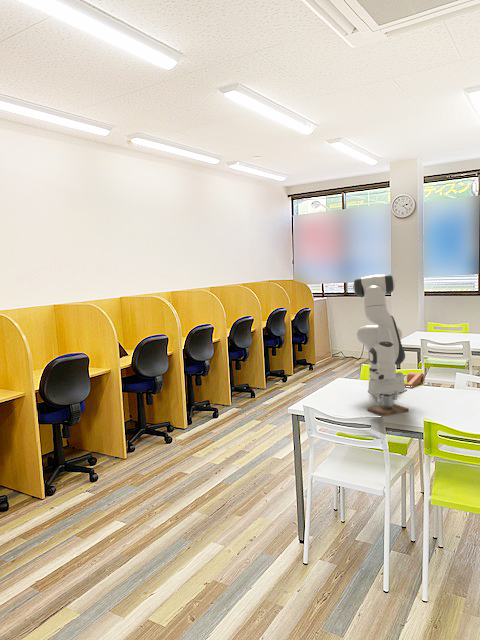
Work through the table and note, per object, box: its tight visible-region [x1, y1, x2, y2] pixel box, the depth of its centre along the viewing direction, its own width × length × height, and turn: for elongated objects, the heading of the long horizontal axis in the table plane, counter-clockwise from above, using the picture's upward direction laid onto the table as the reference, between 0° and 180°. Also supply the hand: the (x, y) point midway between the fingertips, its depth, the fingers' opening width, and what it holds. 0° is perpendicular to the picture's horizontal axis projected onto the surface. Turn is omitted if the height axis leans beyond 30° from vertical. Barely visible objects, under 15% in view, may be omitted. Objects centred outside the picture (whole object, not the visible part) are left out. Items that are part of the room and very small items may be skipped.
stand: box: [366, 403, 409, 417], centre depth 247 cm, size 16×12×8 cm
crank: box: [405, 371, 426, 388], centre depth 297 cm, size 20×8×8 cm, turn 137°
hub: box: [380, 394, 394, 407], centre depth 247 cm, size 6×6×5 cm
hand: (387, 400), depth 247 cm, fingers open, 8 cm apart
